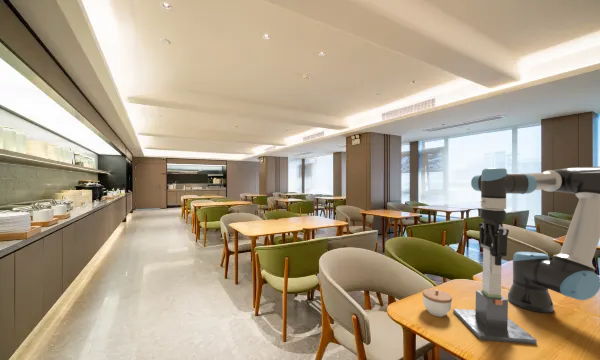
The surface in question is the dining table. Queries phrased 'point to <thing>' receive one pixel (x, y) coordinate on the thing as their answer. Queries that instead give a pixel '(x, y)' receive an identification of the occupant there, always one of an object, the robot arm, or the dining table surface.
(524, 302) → the robot arm
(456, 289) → the dining table surface
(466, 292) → the dining table surface
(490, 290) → the white square column
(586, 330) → the dining table surface
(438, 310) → the lidded jar
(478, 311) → the stand housing
